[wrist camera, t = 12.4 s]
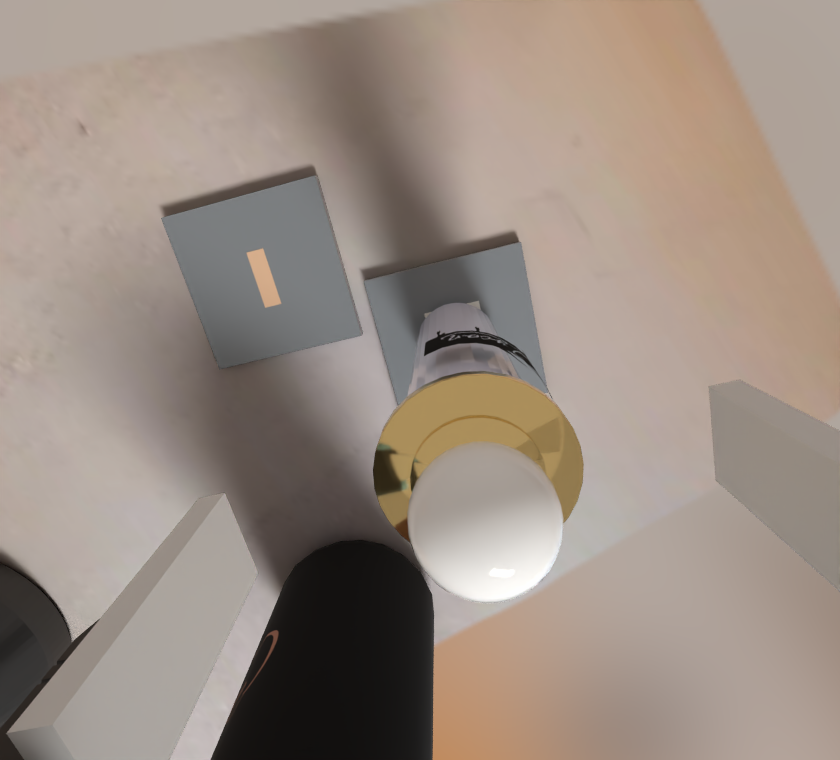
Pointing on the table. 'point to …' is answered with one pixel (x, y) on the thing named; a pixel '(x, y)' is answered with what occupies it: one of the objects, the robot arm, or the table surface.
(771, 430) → the robot arm
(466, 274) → the slate code tile
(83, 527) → the table surface
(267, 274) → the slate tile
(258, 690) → the coffee jar
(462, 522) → the perfume bottle
